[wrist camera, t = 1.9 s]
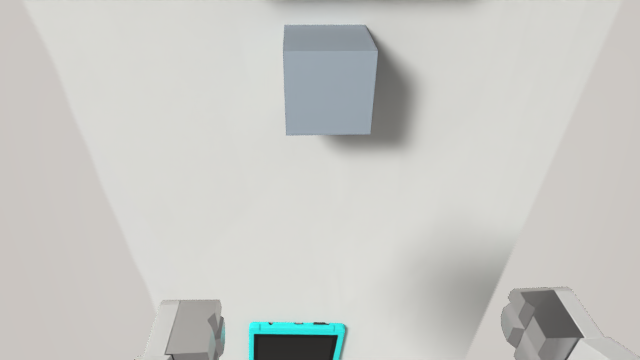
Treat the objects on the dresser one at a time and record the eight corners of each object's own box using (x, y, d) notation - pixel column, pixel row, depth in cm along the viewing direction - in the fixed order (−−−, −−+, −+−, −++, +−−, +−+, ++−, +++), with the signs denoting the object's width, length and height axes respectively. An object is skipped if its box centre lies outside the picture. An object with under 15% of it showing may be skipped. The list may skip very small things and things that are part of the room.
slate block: (284, 24, 26) (283, 51, 22) (365, 24, 26) (378, 50, 22) (287, 99, 29) (286, 135, 25) (359, 98, 29) (370, 134, 25)
